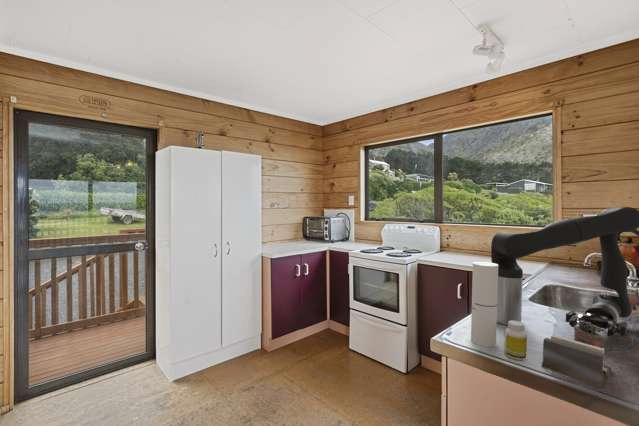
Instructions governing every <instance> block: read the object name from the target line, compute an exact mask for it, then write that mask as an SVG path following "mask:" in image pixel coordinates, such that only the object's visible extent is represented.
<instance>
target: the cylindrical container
mask: <svg viewBox="0 0 639 426" xmlns="http://www.w3.org/2000/svg"><path fill="white" fill-rule="evenodd" d="M471 276H472V282H471V285H472V286H471V287H472V288H471V324H470V325H471V326H470V327H471V329H470V341H471V342H472V343H473V344H475V345H478V346H480V347H485V348H490V347H491V348H493V347H495V346H497V327H498V323H497V295H498V264H496V263H492V262H491V261H473V262H472V275H471Z"/></svg>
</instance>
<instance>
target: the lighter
mask: <svg viewBox="0 0 639 426" xmlns="http://www.w3.org/2000/svg"><path fill="white" fill-rule="evenodd" d="M573 330H574V334H573V340H574V341H578V342H581V343H585V344H589V345H592V346H596V347H600V348H603V341H604V335H601V334H600V333H601V331H600V327H597V326H595V325H592V324H591V322H584V321H581V320H579V325H576V326H574V327H573Z"/></svg>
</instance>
